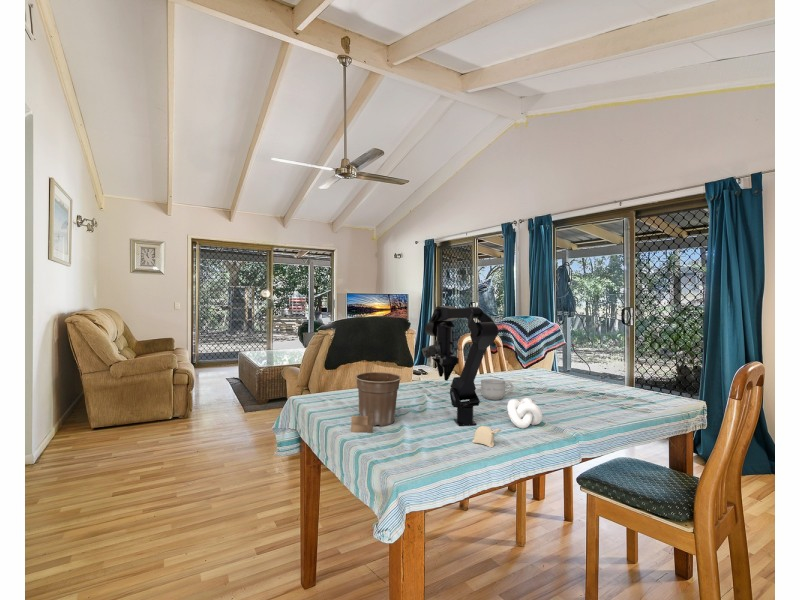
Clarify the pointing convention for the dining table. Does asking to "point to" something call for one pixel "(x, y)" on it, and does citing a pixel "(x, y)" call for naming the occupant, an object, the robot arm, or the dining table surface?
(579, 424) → the dining table surface
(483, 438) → the decorative ornament
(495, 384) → the teacup
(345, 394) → the dining table surface
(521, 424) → the white knot sculpture
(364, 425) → the wooden block
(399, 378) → the plant pot
